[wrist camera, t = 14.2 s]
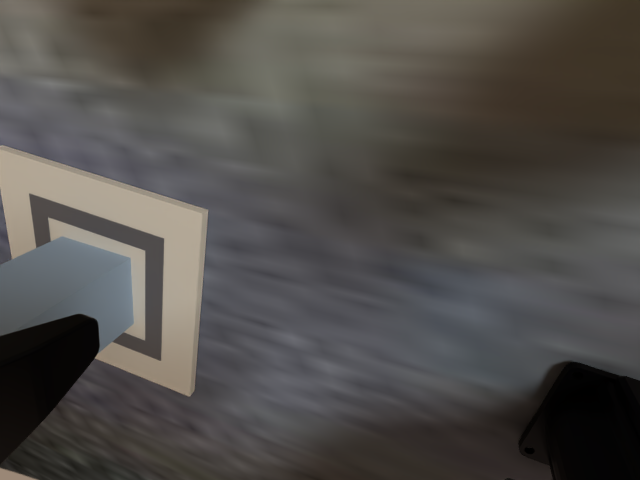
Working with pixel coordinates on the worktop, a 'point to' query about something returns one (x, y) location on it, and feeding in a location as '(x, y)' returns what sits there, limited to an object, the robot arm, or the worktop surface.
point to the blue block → (67, 288)
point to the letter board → (125, 239)
